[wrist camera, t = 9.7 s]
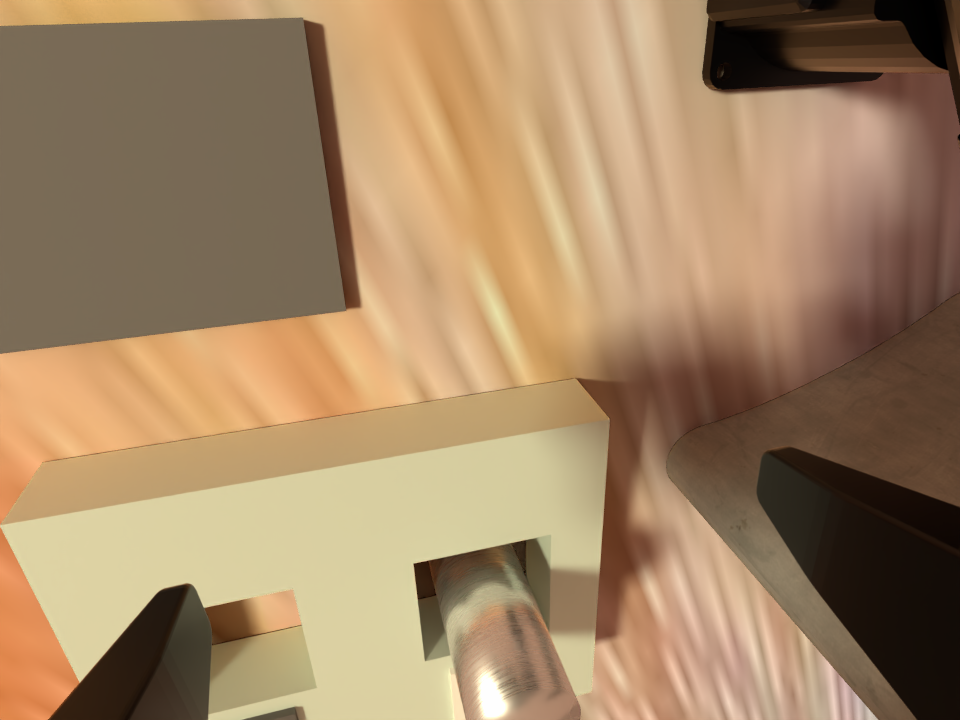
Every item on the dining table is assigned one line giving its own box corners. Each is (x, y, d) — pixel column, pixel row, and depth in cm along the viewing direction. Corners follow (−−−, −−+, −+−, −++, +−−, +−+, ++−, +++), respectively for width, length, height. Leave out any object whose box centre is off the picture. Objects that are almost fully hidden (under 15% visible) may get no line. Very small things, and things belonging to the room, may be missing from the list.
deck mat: (302, 18, 16) (302, 17, 15) (345, 305, 19) (346, 310, 19) (-148, 31, 14) (-163, 30, 13) (-9, 348, 17) (-17, 355, 17)
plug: (505, 503, 25) (582, 677, 18) (507, 565, 26) (578, 748, 19) (423, 519, 24) (469, 707, 17) (429, 582, 25) (474, 778, 18)
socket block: (575, 378, 23) (613, 423, 20) (566, 635, 29) (594, 698, 26) (42, 462, 19) (-6, 532, 16) (162, 735, 25) (143, 820, 23)
